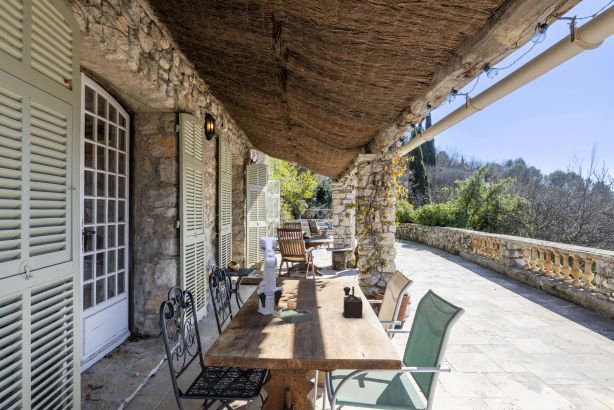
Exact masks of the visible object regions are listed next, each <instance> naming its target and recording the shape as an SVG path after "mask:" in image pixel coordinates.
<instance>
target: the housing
mask: <svg viewBox="0 0 614 410" xmlns="http://www.w3.org/2000/svg"><path fill="white" fill-rule="evenodd" d="M284 311H287V307H286V308H282V309H281V312H284ZM294 311H295V312H297V313H298V315H294V316H289V317H283V318H280V319H281V320H283V321H285V322H287V323H288V324H297V323H302V322H306V321H310V320H313V319H314V317H313V315H314V312H311V311H309V310H306V309H301V310H300V309H298V308H296V307H294Z"/></svg>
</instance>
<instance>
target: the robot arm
mask: <svg viewBox="0 0 614 410" xmlns="http://www.w3.org/2000/svg"><path fill="white" fill-rule="evenodd" d="M258 244H259V251H260V252H262V253H263V280H262V281H261V282H259V285H258V286H259V287H258V289H257V290H256V294H257V296H258V297H259V298H258V309H257V312H258V313H260V314H263V315H265V316H266V315H273V310H275V307H274V306H277V307H278V306H279V303H280V300H281V297H282V295H283V292H284V287H283V286H278V287H277V267H278V259H277V258H278V257H277V256H276V250H277V249H276V248H277V237H276V236H260V237H259V242H258Z"/></svg>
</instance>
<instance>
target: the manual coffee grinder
mask: <svg viewBox="0 0 614 410" xmlns="http://www.w3.org/2000/svg"><path fill="white" fill-rule="evenodd" d="M342 291H343V292H344V293H343V294H344V296H343V312H342V316H343V318H345V319H363V307H364V305H363V299H362V297H360V296H357V295H355V286H352V287H351V288H350V287H349V286H344V287H343V289H342ZM350 292H352V293H351V294H350Z"/></svg>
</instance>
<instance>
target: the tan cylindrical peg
mask: <svg viewBox="0 0 614 410" xmlns="http://www.w3.org/2000/svg"><path fill="white" fill-rule="evenodd" d="M286 308H287V311H290V310H293V311H294V308H295V300H288V301H286Z"/></svg>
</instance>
